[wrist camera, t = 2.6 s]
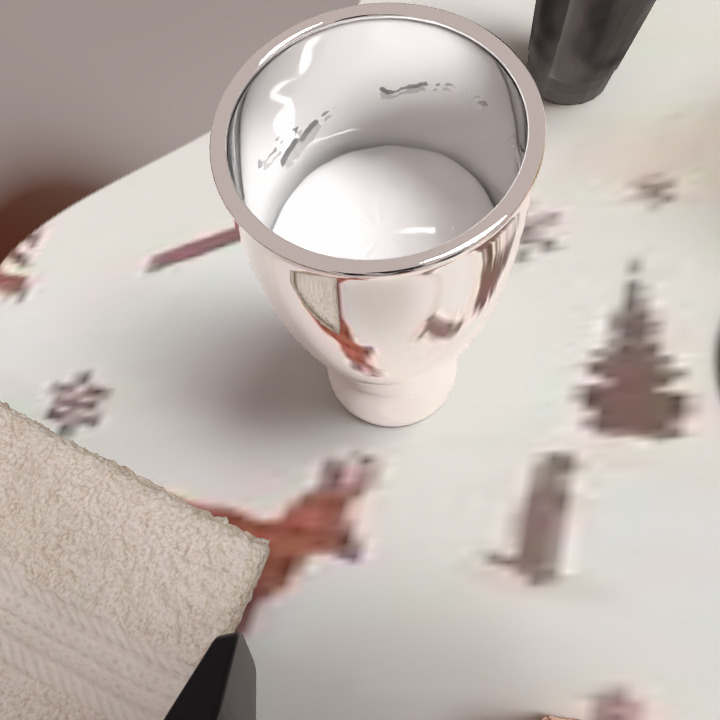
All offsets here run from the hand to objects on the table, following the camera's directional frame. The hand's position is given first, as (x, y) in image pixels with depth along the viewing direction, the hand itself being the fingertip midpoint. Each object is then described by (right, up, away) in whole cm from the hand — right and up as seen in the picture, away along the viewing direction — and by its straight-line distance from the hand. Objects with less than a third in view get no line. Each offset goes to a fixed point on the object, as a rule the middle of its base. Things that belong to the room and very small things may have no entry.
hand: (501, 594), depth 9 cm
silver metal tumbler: (-1, +4, +15) cm, 16 cm away
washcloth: (-16, -6, +14) cm, 22 cm away
